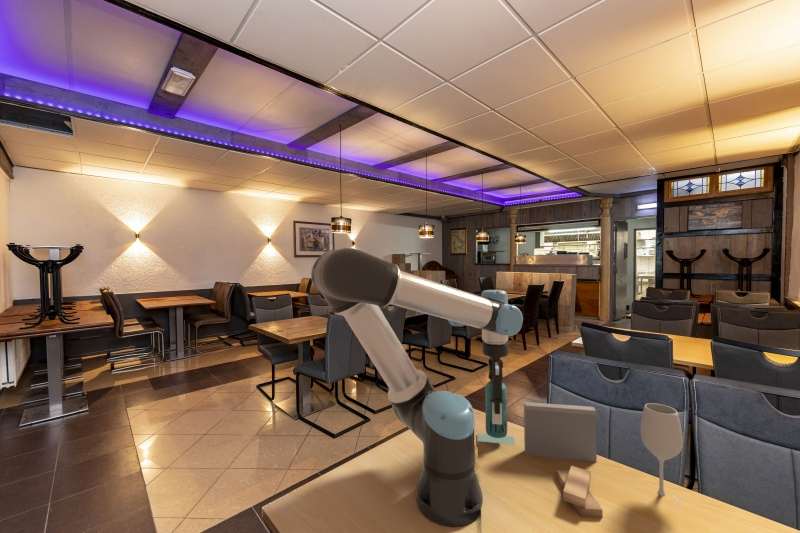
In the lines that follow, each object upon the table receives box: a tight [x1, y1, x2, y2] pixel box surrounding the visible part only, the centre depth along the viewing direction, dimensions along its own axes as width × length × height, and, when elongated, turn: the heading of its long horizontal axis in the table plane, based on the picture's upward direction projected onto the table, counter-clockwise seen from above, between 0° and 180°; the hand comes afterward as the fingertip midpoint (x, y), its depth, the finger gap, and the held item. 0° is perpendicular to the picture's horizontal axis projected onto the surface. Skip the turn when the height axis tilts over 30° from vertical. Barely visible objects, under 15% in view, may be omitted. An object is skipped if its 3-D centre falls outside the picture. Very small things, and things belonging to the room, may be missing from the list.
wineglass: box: [640, 402, 684, 507], centre depth 76 cm, size 8×8×21 cm
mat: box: [476, 433, 516, 455], centre depth 99 cm, size 11×11×1 cm
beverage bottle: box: [484, 370, 508, 438], centre depth 99 cm, size 6×7×20 cm
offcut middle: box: [555, 469, 603, 519], centre depth 75 cm, size 13×4×2 cm, turn 175°
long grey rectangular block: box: [523, 401, 598, 463], centre depth 91 cm, size 18×2×15 cm, turn 78°
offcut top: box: [562, 465, 592, 508], centre depth 75 cm, size 11×4×2 cm, turn 145°
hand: (496, 417), depth 99 cm, fingers closed on beverage bottle, 6 cm apart
